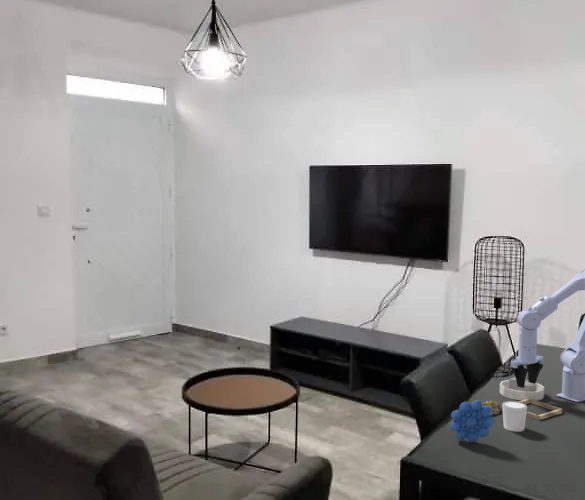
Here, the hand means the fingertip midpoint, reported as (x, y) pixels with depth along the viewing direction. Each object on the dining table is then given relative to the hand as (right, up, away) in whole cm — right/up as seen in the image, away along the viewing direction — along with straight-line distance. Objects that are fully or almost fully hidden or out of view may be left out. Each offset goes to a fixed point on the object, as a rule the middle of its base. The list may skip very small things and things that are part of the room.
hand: (526, 385), depth 201 cm
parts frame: (-3, -5, -13) cm, 14 cm away
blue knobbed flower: (-30, -7, -37) cm, 48 cm away
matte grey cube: (-1, -3, +5) cm, 6 cm away
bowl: (-1, -4, +3) cm, 5 cm away
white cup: (-15, -6, -27) cm, 32 cm away
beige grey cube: (0, -3, 0) cm, 3 cm away
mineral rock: (-18, -6, -14) cm, 23 cm away
